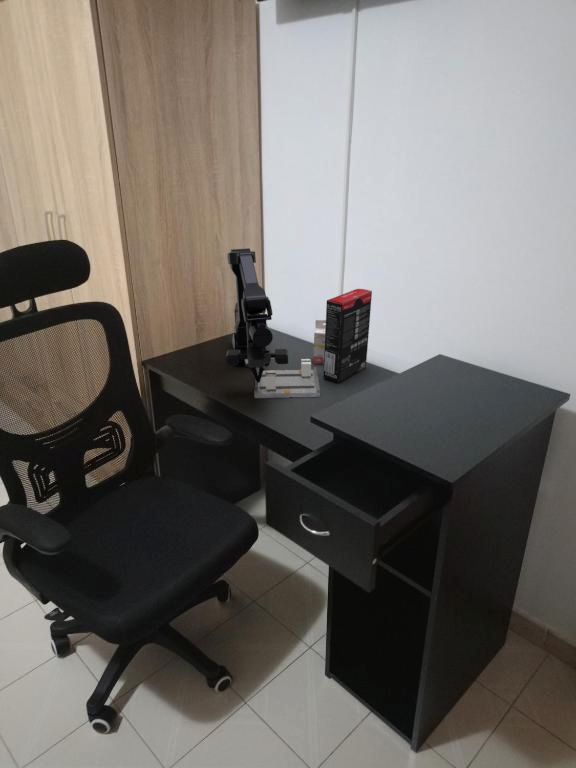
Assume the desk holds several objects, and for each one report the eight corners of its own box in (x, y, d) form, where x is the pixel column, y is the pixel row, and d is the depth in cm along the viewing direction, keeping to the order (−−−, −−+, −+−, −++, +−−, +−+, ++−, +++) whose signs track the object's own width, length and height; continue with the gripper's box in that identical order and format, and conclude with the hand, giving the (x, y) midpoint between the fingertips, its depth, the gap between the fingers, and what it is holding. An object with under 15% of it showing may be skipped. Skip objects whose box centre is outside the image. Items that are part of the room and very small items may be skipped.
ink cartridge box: (313, 364, 190) (313, 324, 184) (314, 358, 195) (314, 319, 188) (337, 365, 189) (339, 324, 183) (338, 359, 194) (339, 319, 187)
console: (254, 398, 167) (254, 390, 166) (256, 374, 183) (256, 367, 182) (319, 397, 168) (319, 389, 166) (316, 373, 183) (316, 366, 182)
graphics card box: (351, 362, 191) (354, 286, 179) (368, 367, 187) (373, 290, 175) (322, 379, 179) (324, 299, 167) (340, 385, 175) (342, 303, 163)
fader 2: (301, 376, 177) (301, 363, 175) (301, 371, 180) (301, 358, 178) (311, 376, 177) (311, 363, 175) (310, 371, 180) (310, 358, 178)
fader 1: (265, 389, 168) (265, 375, 166) (266, 383, 172) (265, 370, 170) (275, 389, 168) (275, 375, 166) (275, 383, 172) (275, 370, 170)
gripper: (222, 345, 155) (225, 394, 162) (288, 344, 155) (288, 393, 162) (226, 331, 165) (229, 378, 172) (287, 330, 165) (288, 377, 172)
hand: (258, 382), depth 169 cm, fingers closed
